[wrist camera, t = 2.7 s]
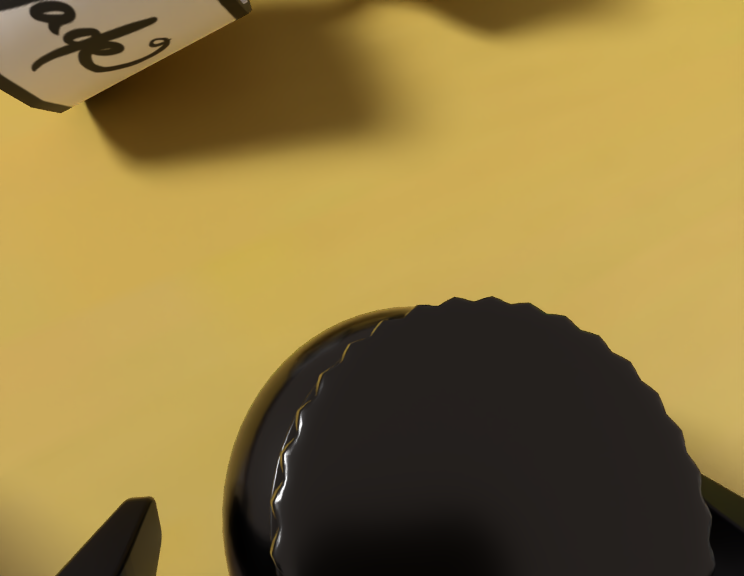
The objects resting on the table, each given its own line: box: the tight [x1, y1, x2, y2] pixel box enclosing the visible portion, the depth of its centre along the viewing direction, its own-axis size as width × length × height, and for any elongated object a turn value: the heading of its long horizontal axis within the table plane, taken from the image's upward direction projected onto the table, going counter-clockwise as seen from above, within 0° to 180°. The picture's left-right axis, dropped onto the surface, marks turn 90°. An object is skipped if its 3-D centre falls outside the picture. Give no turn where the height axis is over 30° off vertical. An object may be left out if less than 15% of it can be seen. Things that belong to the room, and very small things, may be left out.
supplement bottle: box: [222, 296, 716, 576], centre depth 11 cm, size 7×7×12 cm
